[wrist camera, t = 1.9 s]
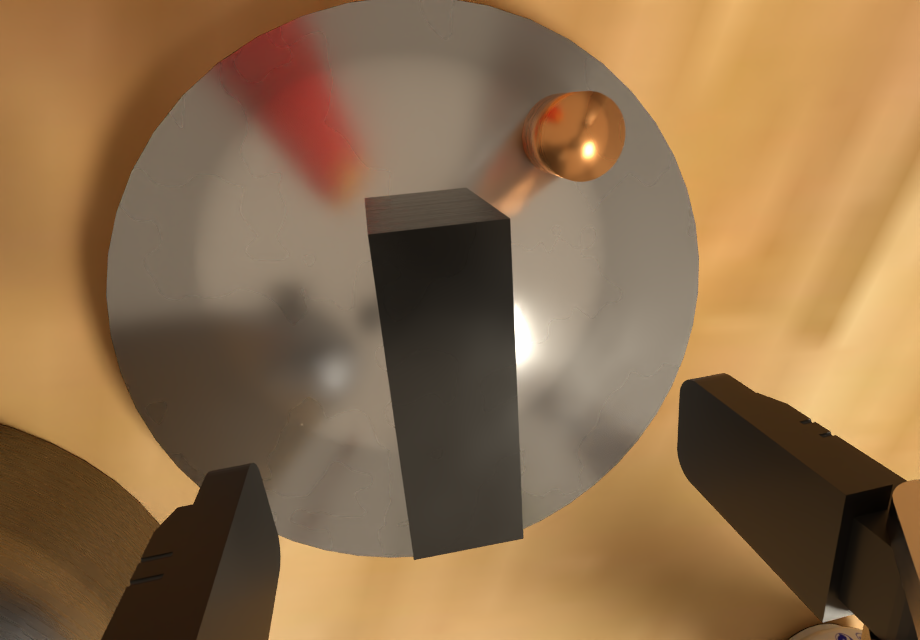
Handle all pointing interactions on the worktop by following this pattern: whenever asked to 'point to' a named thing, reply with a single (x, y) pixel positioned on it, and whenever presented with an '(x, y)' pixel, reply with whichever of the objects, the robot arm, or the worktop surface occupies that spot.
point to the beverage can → (828, 633)
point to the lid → (404, 275)
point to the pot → (62, 542)
